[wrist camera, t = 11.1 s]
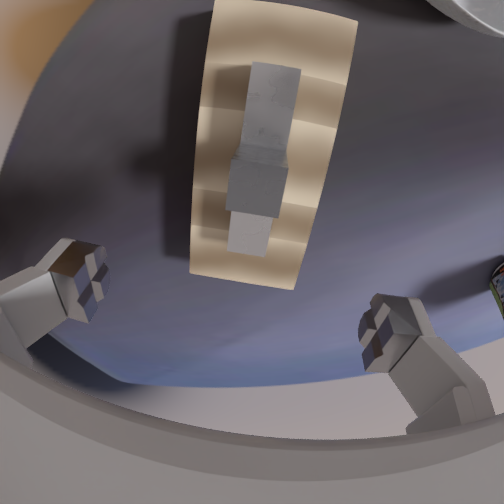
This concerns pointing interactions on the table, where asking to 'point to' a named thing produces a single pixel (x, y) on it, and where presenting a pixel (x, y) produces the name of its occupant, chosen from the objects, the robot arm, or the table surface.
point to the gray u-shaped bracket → (261, 157)
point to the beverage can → (498, 287)
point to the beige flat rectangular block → (300, 138)
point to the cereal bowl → (475, 14)
